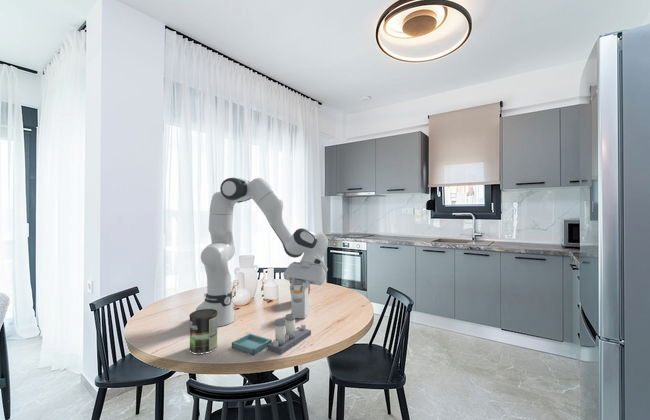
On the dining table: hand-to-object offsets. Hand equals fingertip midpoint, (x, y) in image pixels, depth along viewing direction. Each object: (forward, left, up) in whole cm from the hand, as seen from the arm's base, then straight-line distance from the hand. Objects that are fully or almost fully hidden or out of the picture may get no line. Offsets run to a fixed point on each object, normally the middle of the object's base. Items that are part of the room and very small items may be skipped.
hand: (297, 290), depth 125 cm
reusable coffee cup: (-26, +39, -20) cm, 51 cm away
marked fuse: (0, +1, -5) cm, 5 cm away
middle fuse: (+1, -5, -18) cm, 19 cm away
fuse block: (+1, -5, -20) cm, 21 cm away
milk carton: (-13, +21, -20) cm, 32 cm away
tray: (-10, -16, -20) cm, 28 cm away
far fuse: (+1, -12, -18) cm, 22 cm away
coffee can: (-25, -27, -20) cm, 43 cm away
